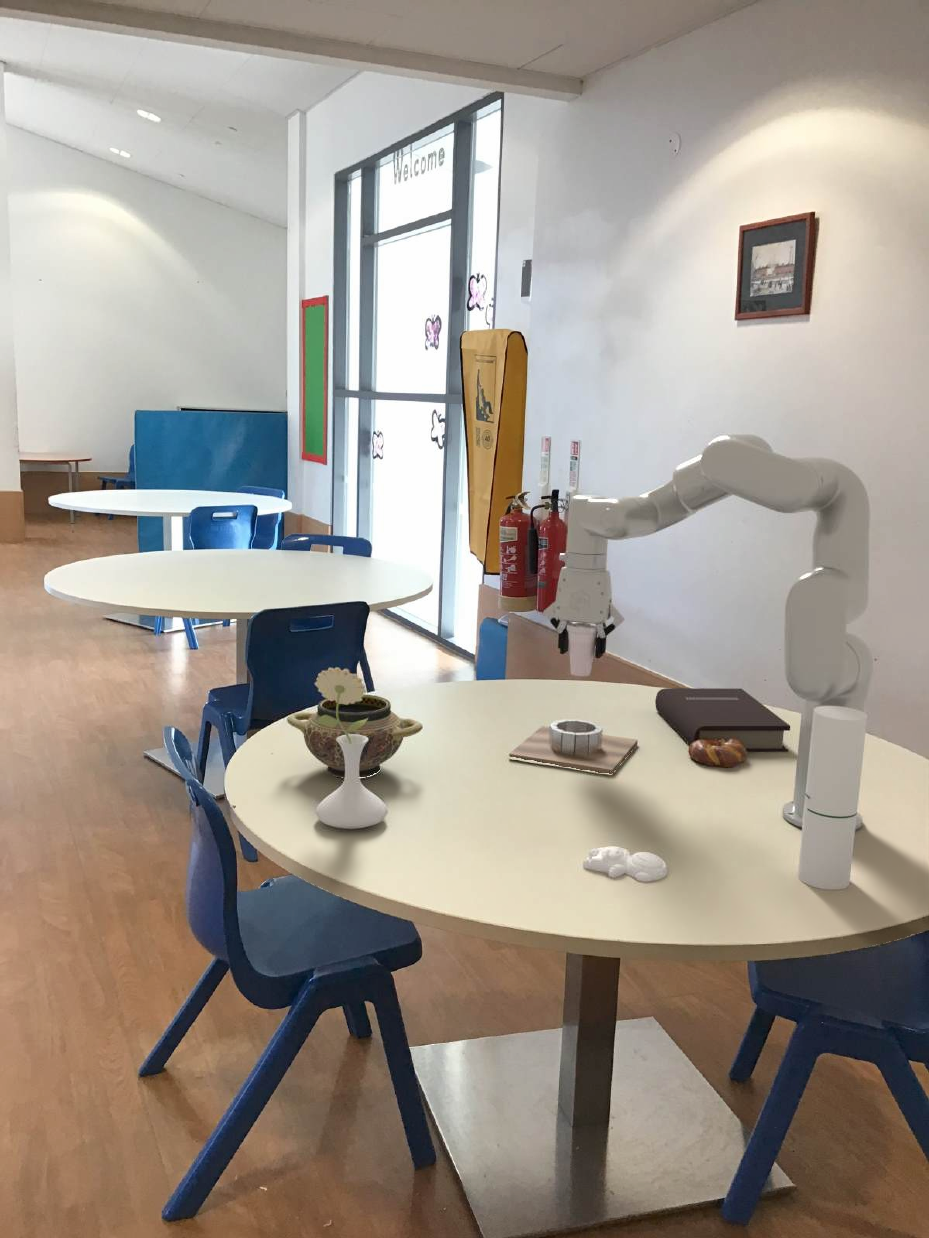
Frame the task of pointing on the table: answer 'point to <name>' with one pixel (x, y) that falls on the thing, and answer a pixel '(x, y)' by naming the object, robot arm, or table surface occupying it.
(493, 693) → the table surface
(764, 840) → the table surface
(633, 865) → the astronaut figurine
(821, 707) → the cylindrical container
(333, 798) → the flower in vase
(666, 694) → the book
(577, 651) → the smoothie
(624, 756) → the walnut board
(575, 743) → the steel sleeve
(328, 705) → the ceramic bowl
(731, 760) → the pretzel
